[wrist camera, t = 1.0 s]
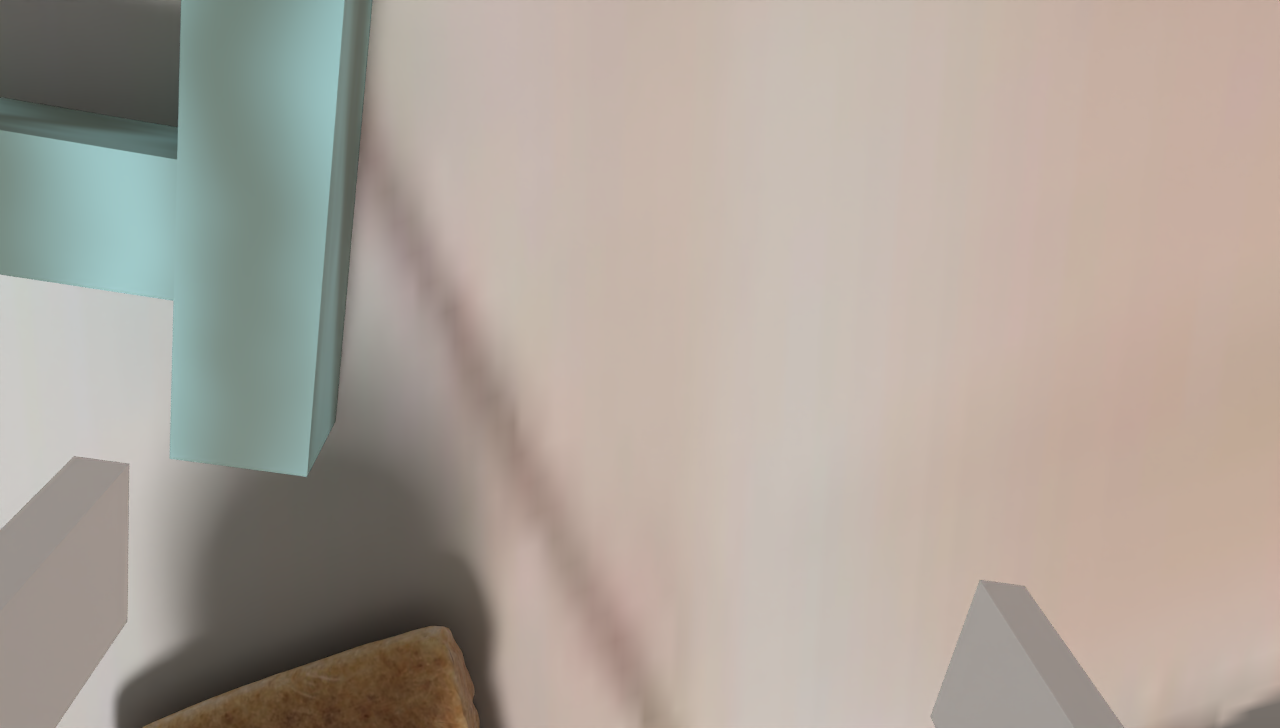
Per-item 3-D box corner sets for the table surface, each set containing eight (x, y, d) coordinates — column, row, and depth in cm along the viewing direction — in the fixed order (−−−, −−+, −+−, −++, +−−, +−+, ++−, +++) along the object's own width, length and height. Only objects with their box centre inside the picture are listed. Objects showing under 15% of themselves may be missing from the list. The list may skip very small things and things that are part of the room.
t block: (373, -13, 30) (345, -8, 26) (335, 421, 35) (306, 476, 31) (-145, -112, 28) (-254, -122, 24) (-108, 359, 33) (-194, 410, 29)
